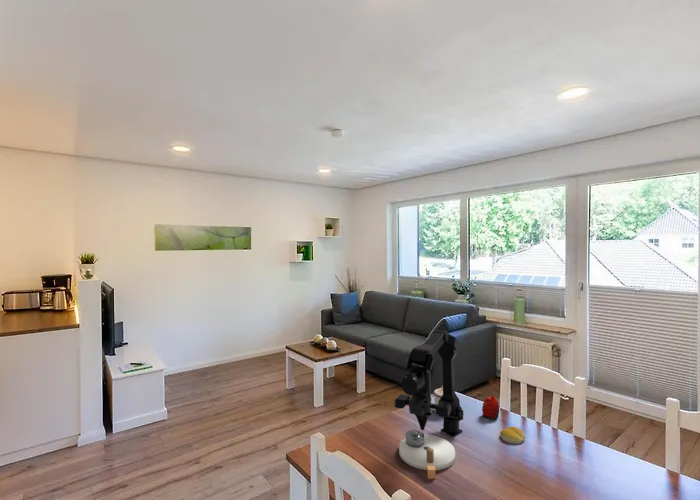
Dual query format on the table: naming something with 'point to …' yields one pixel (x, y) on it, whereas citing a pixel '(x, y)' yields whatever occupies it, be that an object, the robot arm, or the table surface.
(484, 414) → the red clay folk toy
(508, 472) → the table surface
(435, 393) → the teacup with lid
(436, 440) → the turntable
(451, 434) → the robot arm
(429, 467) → the pointer block
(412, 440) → the cover
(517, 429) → the bread roll
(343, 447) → the table surface
